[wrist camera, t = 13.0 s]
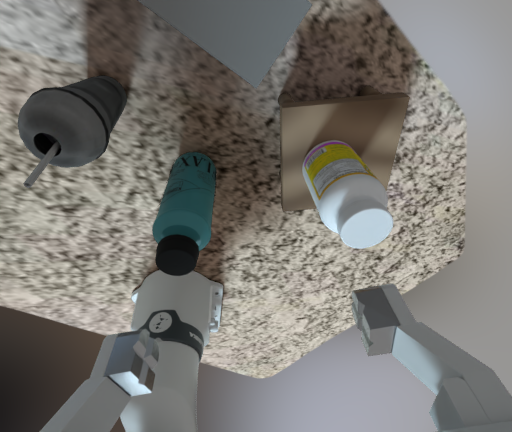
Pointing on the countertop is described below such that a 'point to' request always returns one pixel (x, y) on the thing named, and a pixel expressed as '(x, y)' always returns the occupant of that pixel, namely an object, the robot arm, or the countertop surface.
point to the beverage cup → (70, 122)
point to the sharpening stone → (236, 29)
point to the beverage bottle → (185, 214)
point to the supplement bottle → (347, 194)
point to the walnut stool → (338, 136)
